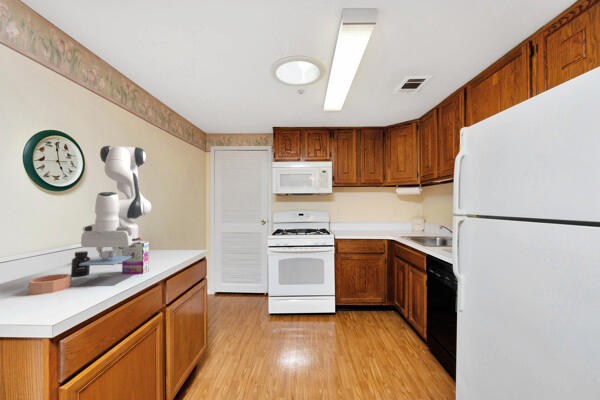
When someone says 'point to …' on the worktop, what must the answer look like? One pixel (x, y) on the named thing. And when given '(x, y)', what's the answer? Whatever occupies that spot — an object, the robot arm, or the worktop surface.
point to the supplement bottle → (82, 269)
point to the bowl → (49, 284)
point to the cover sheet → (111, 262)
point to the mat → (104, 281)
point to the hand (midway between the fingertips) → (107, 256)
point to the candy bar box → (136, 258)
